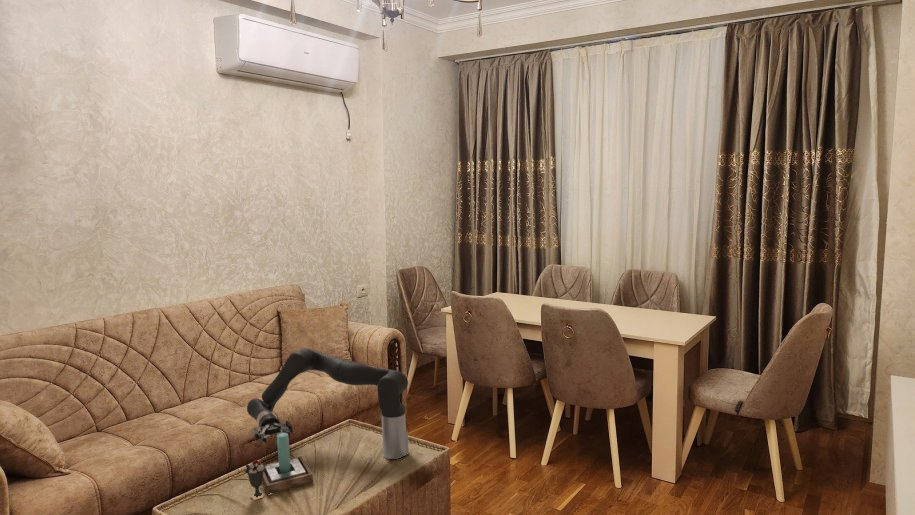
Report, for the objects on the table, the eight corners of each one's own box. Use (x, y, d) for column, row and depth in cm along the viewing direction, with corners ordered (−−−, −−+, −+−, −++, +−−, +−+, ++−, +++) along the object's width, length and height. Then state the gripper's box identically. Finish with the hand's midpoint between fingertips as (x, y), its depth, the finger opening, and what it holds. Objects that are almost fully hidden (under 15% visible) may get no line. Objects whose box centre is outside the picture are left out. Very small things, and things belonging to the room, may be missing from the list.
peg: (289, 472, 233) (286, 432, 230) (292, 477, 229) (289, 436, 227) (278, 475, 231) (275, 434, 228) (281, 480, 227) (278, 438, 225)
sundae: (271, 494, 220) (268, 454, 217) (256, 503, 214) (252, 462, 212) (259, 489, 223) (256, 450, 221) (243, 498, 218) (240, 457, 215)
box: (302, 464, 241) (301, 456, 240) (313, 483, 227) (312, 474, 226) (259, 475, 233) (258, 466, 233) (268, 495, 219) (267, 485, 219)
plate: (297, 465, 238) (297, 458, 237) (306, 479, 227) (305, 471, 227) (265, 473, 232) (264, 466, 232) (272, 488, 222) (271, 480, 221)
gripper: (249, 417, 249) (256, 432, 235) (285, 409, 256) (295, 424, 241) (250, 435, 250) (258, 451, 236) (286, 427, 257) (296, 442, 243)
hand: (276, 437), depth 239 cm, fingers open, 8 cm apart
